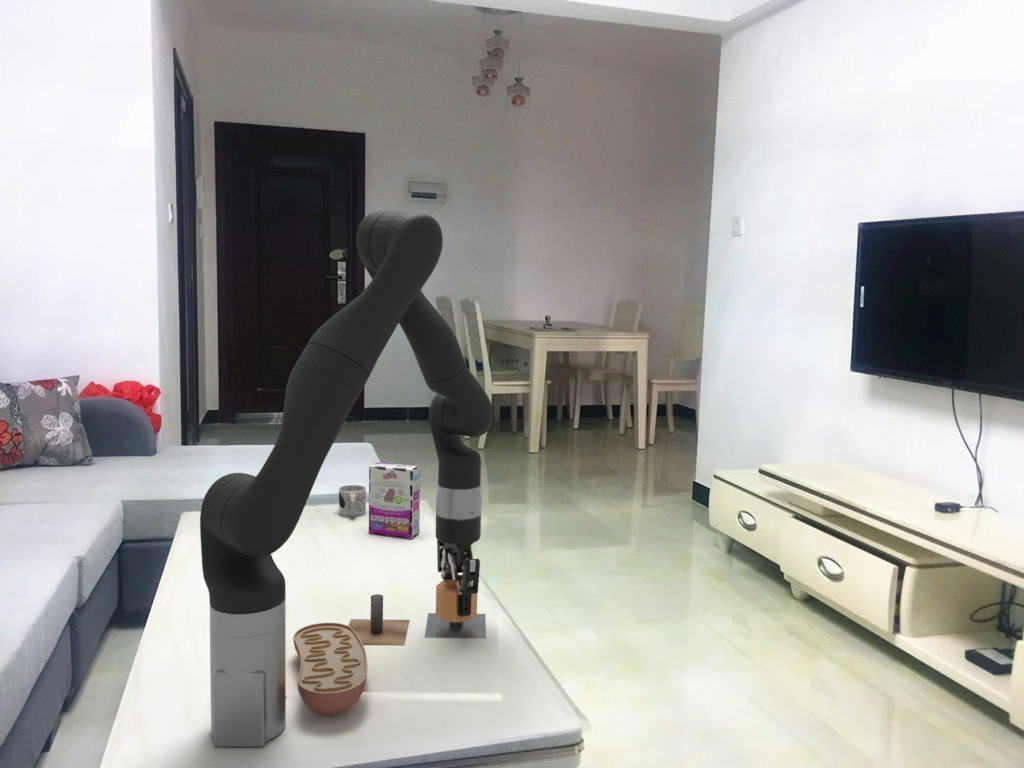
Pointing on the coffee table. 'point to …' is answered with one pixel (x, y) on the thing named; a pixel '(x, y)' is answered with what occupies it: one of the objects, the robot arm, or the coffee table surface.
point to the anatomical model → (330, 667)
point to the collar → (451, 602)
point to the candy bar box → (394, 500)
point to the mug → (352, 501)
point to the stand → (380, 627)
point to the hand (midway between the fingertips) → (456, 607)
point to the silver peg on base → (455, 627)
